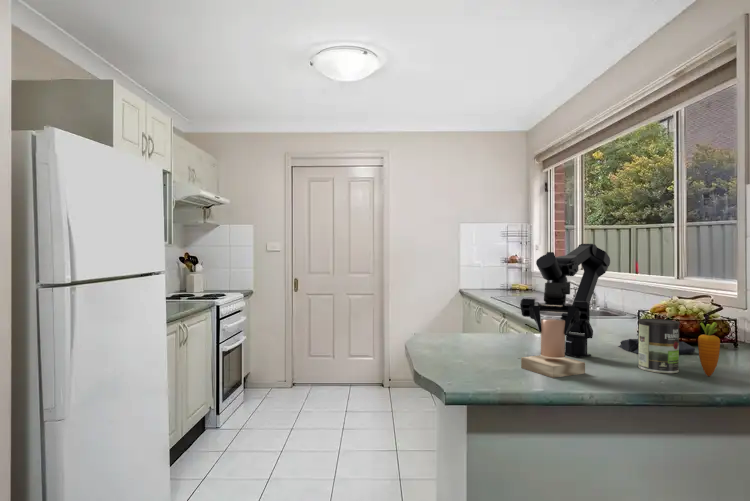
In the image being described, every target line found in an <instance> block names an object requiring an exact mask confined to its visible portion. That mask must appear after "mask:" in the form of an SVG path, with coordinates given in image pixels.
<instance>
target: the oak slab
mask: <svg viewBox="0 0 750 501" xmlns="http://www.w3.org/2000/svg"><path fill="white" fill-rule="evenodd" d="M520 361H521V362H520V364H521V365H520V368H521V369H524V370H527V371H530V372H533V373H537V374H540V375H542V376H546V377H548V378H553V379H554V378H562V377H568V376H569V377H570V376H576V375H577V376H578V375H582V374H586V362H585V361H580V360H576V359H573V358H569V357H561V358H553V357H546V356H542V355H541V354H539V355H533V356H530V355H529V356H523V357H522V356H521V359H520Z"/></svg>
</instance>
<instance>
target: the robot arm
mask: <svg viewBox="0 0 750 501" xmlns="http://www.w3.org/2000/svg"><path fill="white" fill-rule="evenodd" d="M535 263H536V264H535V265H536V266H537V268H538V270H539V272H540V274H541V276H542V278H543V279H544V280H546V282H545V283H544V293H543V302H544V303H540V302H538V301H536V299H535V298H526V297H525V298H522V299H521V300H520V305H519V306H520V312H521V316H523V317H527V318H528V317H529V318H530V319H532V320H534V322H535V324H536V326H537V330H538V332H539V333H540V334H541V319H542V318H541V317H542V316H541V312H547V313H555V314H561V317H560V318H559V319H563V320H565V356H569V357H574V358H585V357H591V356H592V354H591V353H588V339H593V335H594V330H593V328H592V325H591V323H590V322H591V320H590V318H591V316H590V313H591V312H590V310H591V307H590V303H591V300H592V297H593V294H594V292H595V289H596V286H597V284H598V283H597V282H598V280H599V278H601V277H602V276H603V275H604V274H606V272H607V270H608V268H609V267H610V264H611V258H610V255H609V254H608V253H607V252H606V251H605V250H603V249H601V248H599V247H597V245H596V244H594V243H581V244H578V247H576V248H575V249H573V250H572V251H570V252H569V253H567V254H565V255H559V256H556V255H555V252H554V251H547V252H546V253H545V254H544V255H541V256H540V257H539V258H537V259H536V261H535ZM580 265H581V267H582V268H583V272H582V273H583V274H582V277H581V279H580V282H579V284H578V288H577V290H576V293H575V296H574V298H573V299H574V300H572V301H573V302H572V304H571V305H566V302H567V295H571V282H569V281H568V277H574V276H576V275H577V273H578V272H579V268H580V267H579V266H580Z"/></svg>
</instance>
